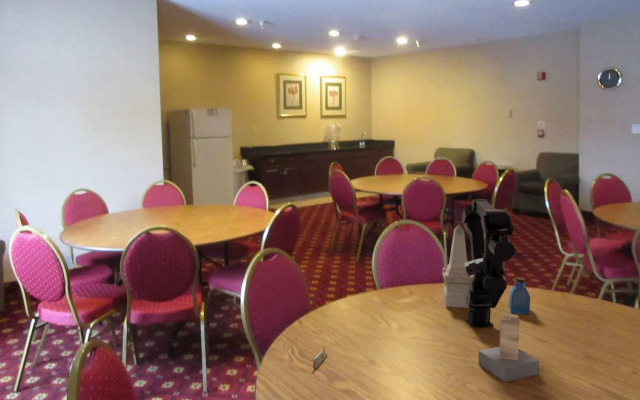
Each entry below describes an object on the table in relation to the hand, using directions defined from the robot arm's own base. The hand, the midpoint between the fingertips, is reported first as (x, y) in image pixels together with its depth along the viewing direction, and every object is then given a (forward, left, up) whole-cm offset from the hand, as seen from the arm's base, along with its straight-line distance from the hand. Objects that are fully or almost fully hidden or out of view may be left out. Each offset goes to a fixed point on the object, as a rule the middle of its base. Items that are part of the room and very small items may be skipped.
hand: (492, 302), depth 159 cm
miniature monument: (-11, -34, -13) cm, 38 cm away
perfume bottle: (-26, -19, -13) cm, 35 cm away
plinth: (+7, +16, -13) cm, 22 cm away
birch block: (+7, +16, -9) cm, 20 cm away
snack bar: (+54, -7, -13) cm, 56 cm away
